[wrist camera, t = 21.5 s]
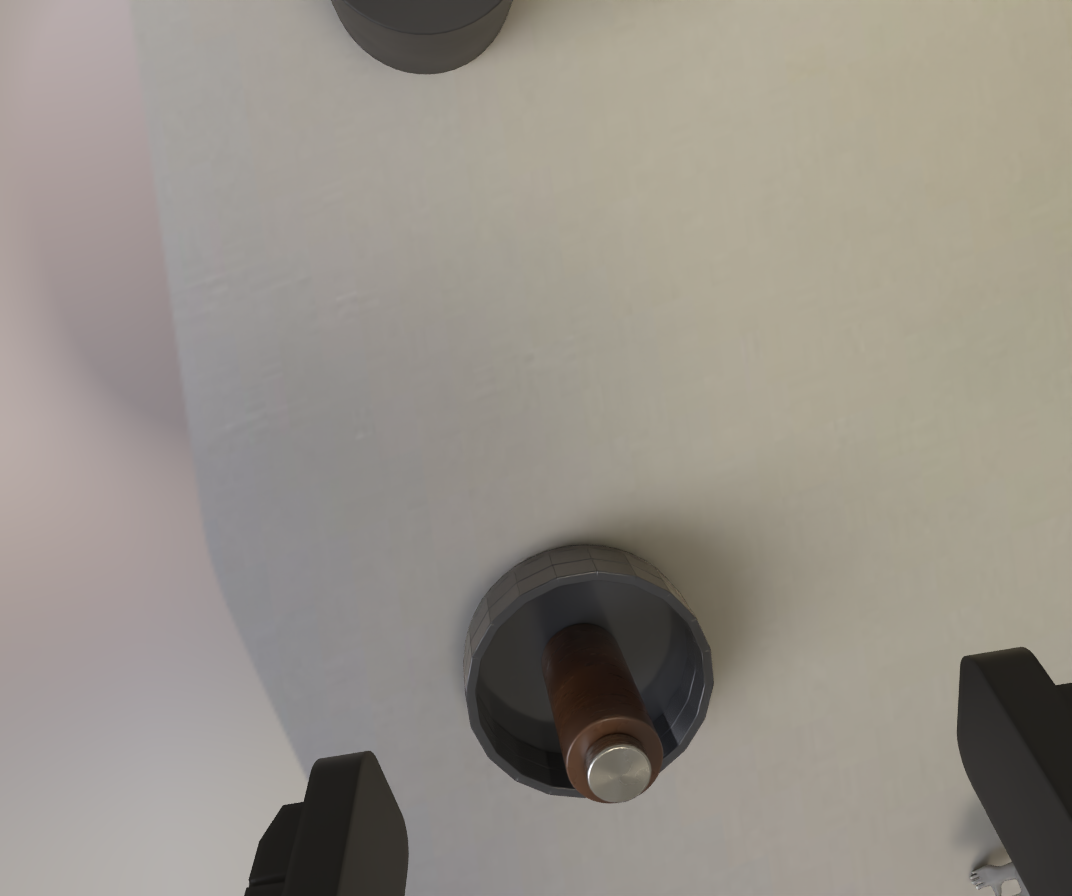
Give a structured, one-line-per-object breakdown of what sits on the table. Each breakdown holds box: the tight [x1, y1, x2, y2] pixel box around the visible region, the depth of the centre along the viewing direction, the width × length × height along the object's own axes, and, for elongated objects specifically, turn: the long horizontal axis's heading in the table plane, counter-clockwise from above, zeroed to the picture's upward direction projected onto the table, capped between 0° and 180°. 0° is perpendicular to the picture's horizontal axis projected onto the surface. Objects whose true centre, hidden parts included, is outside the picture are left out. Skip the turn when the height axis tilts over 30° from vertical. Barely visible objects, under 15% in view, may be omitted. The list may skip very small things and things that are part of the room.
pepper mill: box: [541, 624, 663, 803], centre depth 33 cm, size 3×3×8 cm
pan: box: [463, 545, 714, 798], centre depth 36 cm, size 10×10×3 cm
